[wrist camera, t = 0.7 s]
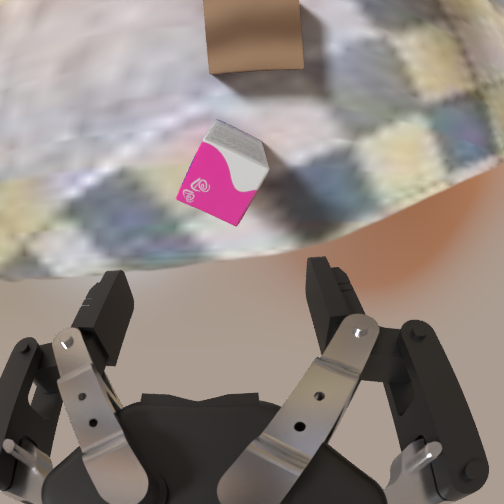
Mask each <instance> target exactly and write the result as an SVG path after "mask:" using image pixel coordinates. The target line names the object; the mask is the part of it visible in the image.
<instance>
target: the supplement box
mask: <svg viewBox="0 0 504 504" xmlns="http://www.w3.org/2000/svg"><path fill="white" fill-rule="evenodd" d="M269 170H270V169H269V165H268V162H267V158H266V155H265V151H264V148H263V144H262V141H261V140H259V139H257V138H255V137H253V136H251V135H249V134H247V133H245V132H243V131H241V130H239V129H237V128H235V127H233V126H231V125H229V124H227V123H225V122H222V121H220V120H216V121H215V123H214V124H213V126H212V127H211V129H210V130H209V132H208V133H207V135H206V136H205V138H204V139H203V141H202V143H201V145H200V147H199V149H198V151H197V153H196V155H195V157H194V159H193V161H192V163H191V165H190V168H189V170H188V172H187V174H186V177H185V179H184V181H183V183H182V186H181V188H180V190H179V193H178V195H177V197H176V199H177V200H179V201H181V202H183V203H185V204H188V205H190V206H192V207H195V208H197V209H200V210H202V211H204V212H206V213H208V214H210V215H213V216H215V217H217V218H219V219H221V220H223V221H226V222H228V223H230V224H232V225H234V226H237V225H238V224H239V223H240V221H241V219H242V218H243V216H244V214H245V212H246V211H247V209H248V207H249V206H250V204H251V202H252V200H253V199H254V197H255V195H256V193H257V192H258V190H259V188H260V186H261V185H262V183H263V181H264V179H265V178H266V176H267V174H268V172H269Z"/></svg>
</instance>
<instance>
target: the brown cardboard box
mask: <svg viewBox="0 0 504 504" xmlns="http://www.w3.org/2000/svg"><path fill="white" fill-rule="evenodd" d="M203 5H204V18H205V30H206V42H207V53H208V64H209V74H211V75H216V74H226V73H237V72H250V71H270V70H300V69H304V60H303V44H302V31H301V19H300V7H299V0H203Z"/></svg>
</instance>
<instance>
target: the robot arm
mask: <svg viewBox="0 0 504 504" xmlns="http://www.w3.org/2000/svg"><path fill="white" fill-rule="evenodd" d="M306 299H307V303H308V307H309V310H310V313H311V317H312V321H313V325H314V328H315V332H316V336H317V339H318V343H319V347H320V350H321V355H322V356H321V357H320V358H318V357H317V358H315V360H314V361H313V362H312V364H311V365H310V367H309V368H308V370H307V371H306V373H305V374H304V376H303V377H302V379H301V380H300V382H299V383H298V385H297V386H296V387H295V389H294V390H293V392H292V393H291V395H290V396H289V398H288V399H287V400H286V402H285V403H284V404H283V406H282V407H280V406H278V405H275V404H273V403H269V402H265V401H259V396H258V393H244V394H227V395H224V396H220V397H216V398H211V399H207V400H203V401H192V400H188V399H184V398H180V397H176V396H172V395H165V394H142V397H141V402H137V403H134V404H131V405H128V406H126V407H123V405H122V404H121V402H120V400H119V398H118V396H117V395H116V393H115V391H114V389H113V387H112V385H111V383H110V381H109V379H108V377H107V375H106V373H105V372H104V369H105V366H116V363H117V359H118V356H119V353H120V350H121V346H122V343H123V340H124V337H125V334H126V331H127V328H128V325H129V321H130V318H131V316H132V313H133V309H134V300H133V296H132V293H131V290H130V287H129V285H128V282H127V279H126V276H125V273H124V272H123V271H122V270H117V271H106V272H105V274H104V276H103V278H102V280H101V281H100V283H96V285H94V286H93V287H92V288H91V289H90V290H89V292H88V294H87V296H86V300H84V302H83V304H82V306H81V308H80V310H79V311H78V314H77V315H76V317H75V319H74V322H73V324H72V326H71V328H66V329H64V330H62V331H60V332H59V333H58V334H57V335H56V336H55V337H54V339H53V342H52V343H48V344H44V345H39V344H38V343H37V341H36V340H35V339H34V338H32V337H27V338H24V339H22V340H20V341H19V342H18V343H17V344H16V346H15V347H14V349H13V351H12V353H11V355H10V358H9V360H8V362H7V364H6V367H5V369H4V371H3V373H2V376H1V378H0V492H1V493H3V494H4V495H6V496H8V497H10V498H13V499H15V500H17V501H21V502H23V503H25V504H451V503H453V502H455V501H457V500H459V499H462V498H464V497H466V496H468V495H470V494H472V493H474V492H476V491H477V490H479V489H480V488H481V487H482V486H483V485H484V484H485V482H486V480H487V478H488V474H489V465H488V461H487V458H486V455H485V451H484V449H483V445H482V442H481V439H480V436H479V434H478V431H477V428H476V425H475V422H474V420H473V417H472V414H471V412H470V409H469V407H468V404H467V401H466V399H465V397H464V394H463V392H462V389H461V387H460V385H459V382H458V380H457V378H456V376H455V373H454V371H453V369H452V367H451V365H450V362H449V360H448V358H447V356H446V354H445V352H444V350H443V348H442V346H441V344H440V342H439V340H438V337H437V336H436V334H435V332H434V330H433V328H432V327H431V326H430V325H429V324H427V323H426V322H423V321H420V320H410V321H407V322H406V323H404V325H403V326H402V328H401V329H392V328H384V327H380V326H378V323H377V322H376V321H375V320H374V319H373V318H371V317H370V316H367V315H365V312H364V310H363V308H362V306H361V304H360V302H359V300H358V298H357V295H356V293H355V291H354V289H353V287H352V285H351V284H350V280H349V278H348V276H347V275H346V273H345V272H343V271H342V270H341V269H340V268H339V267H334V268H331V267H330V265H329V263H328V261H327V259H326V257H325V256H324V257H311V258H308V259H307V272H306ZM361 380H366V381H377V382H383V384H384V388H385V391H386V395H387V398H388V402H389V405H390V409H391V413H392V416H393V420H394V424H395V427H396V431H397V435H398V439H399V444H400V448H401V453H400V454H399V455H398V456H397V457H396V458H395V459H394V460H393V462H392V464H391V468H390V481H389V483H388V485H387V486H386V488H385V489H382V488H381V487H380V485H379V484H378V483H377V482H376V481H375V480H373V479H372V478H371V477H369V476H368V475H367V474H365V473H364V472H363V471H361V470H360V469H359V468H357V467H356V466H355V465H354V464H352V463H351V462H350V461H348V460H347V459H346V458H345V457H343V456H342V455H341V454H340V453H338V452H337V451H336V450H335V449H333V448H332V447H331V446H330V445H328V443H329V441H330V439H331V438H332V436H333V434H334V432H335V431H336V429H337V427H338V425H339V423H340V421H341V419H342V417H343V415H344V413H345V411H346V410H347V408H348V406H349V404H350V402H351V400H352V398H353V396H354V394H355V392H356V390H357V388H358V386H359V384H360V382H361ZM33 382H34V383H35V385H36V386H37V388H36V391H35V394H34V397H33V400H32V403H31V406H30V405H29V402H28V394H29V391H30V388H31V385H32V383H33ZM62 403H64V406H65V409H66V412H67V414H68V417H69V420H70V423H71V425H72V428H73V430H74V433H75V436H76V438H77V440H78V443H79V445H80V446H79V447H78V448H77V449H75V450H74V451H73V452H72V453H71V454H70V455H69V456H68V457H66V458H65V459H64V460H63V461H62V462H61V463H60V464H59V465H57V466H56V467H55V468H54V469H53V465H52V462H51V459H50V454H51V449H52V444H53V440H54V435H55V431H56V426H57V422H58V419H59V415H60V411H61V407H62Z"/></svg>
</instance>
